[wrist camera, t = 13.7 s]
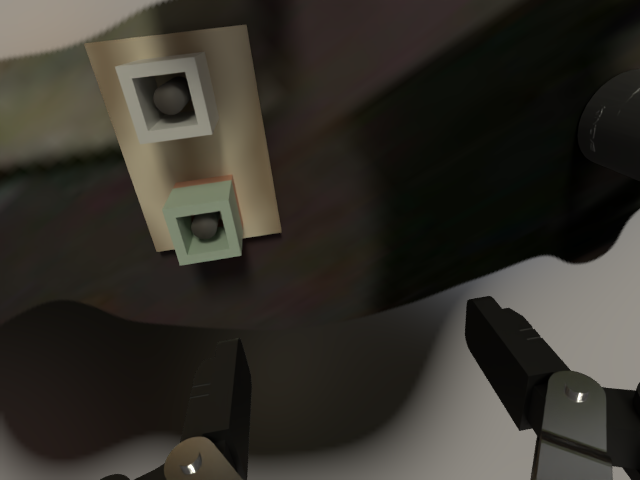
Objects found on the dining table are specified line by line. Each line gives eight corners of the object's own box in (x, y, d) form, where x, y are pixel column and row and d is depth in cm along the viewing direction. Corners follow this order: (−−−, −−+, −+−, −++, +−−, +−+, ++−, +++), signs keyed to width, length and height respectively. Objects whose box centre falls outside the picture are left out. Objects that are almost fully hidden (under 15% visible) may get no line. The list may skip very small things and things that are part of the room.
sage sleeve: (232, 174, 36) (228, 199, 31) (243, 224, 38) (241, 255, 33) (175, 182, 36) (161, 209, 30) (190, 232, 38) (180, 265, 33)
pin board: (246, 24, 32) (244, 24, 26) (280, 227, 40) (284, 258, 35) (89, 43, 31) (54, 46, 25) (159, 246, 39) (144, 281, 34)
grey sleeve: (204, 51, 31) (194, 57, 26) (219, 117, 33) (212, 134, 28) (138, 59, 31) (114, 66, 25) (158, 125, 33) (139, 144, 28)
